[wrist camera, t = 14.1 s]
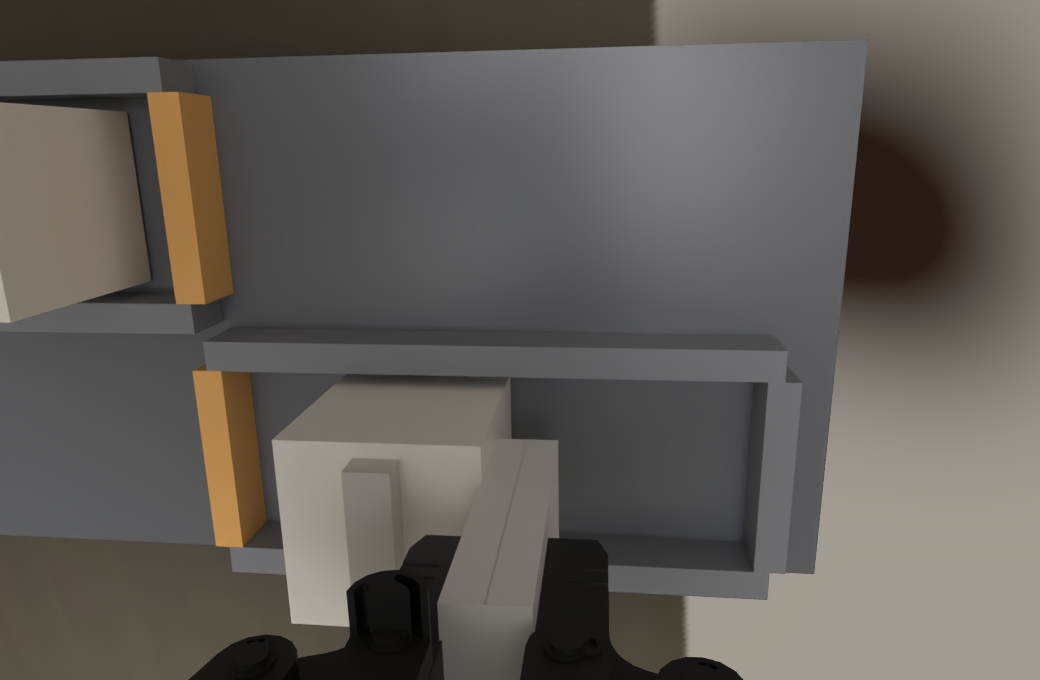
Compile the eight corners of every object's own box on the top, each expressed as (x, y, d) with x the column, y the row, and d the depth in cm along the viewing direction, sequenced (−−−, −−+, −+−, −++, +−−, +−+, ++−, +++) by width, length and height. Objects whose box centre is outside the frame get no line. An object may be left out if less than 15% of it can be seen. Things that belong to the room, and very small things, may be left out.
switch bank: (-277, 81, 22) (-431, 70, 19) (841, 50, 19) (893, 29, 15) (-161, 496, 26) (-275, 548, 23) (795, 537, 22) (830, 606, 19)
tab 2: (350, 370, 20) (256, 452, 15) (510, 373, 20) (474, 460, 14) (361, 516, 21) (278, 643, 16) (513, 522, 21) (480, 656, 15)
